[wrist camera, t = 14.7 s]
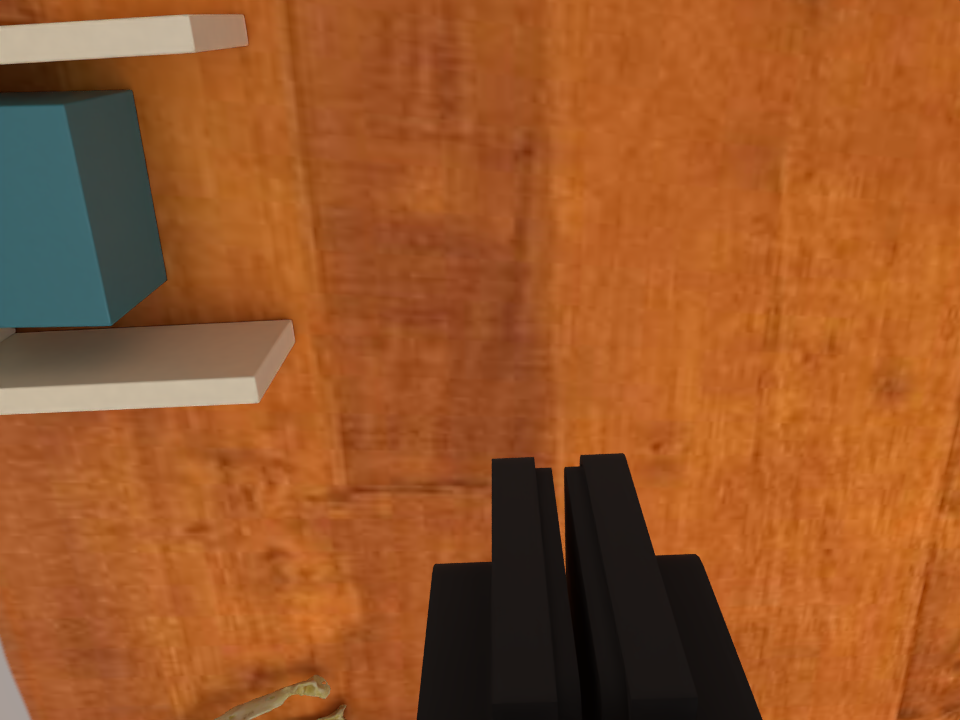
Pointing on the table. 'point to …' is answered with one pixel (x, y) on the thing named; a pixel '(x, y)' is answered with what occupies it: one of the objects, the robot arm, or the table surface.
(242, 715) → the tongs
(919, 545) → the table surface
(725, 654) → the robot arm
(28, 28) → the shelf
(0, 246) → the box
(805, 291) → the table surface
